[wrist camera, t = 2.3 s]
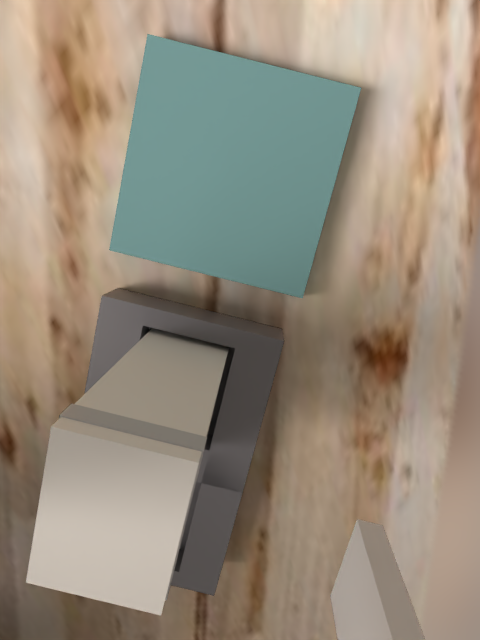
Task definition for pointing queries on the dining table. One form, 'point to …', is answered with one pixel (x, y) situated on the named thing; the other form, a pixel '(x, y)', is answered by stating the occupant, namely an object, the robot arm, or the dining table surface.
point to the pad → (230, 165)
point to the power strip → (227, 419)
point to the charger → (126, 474)
